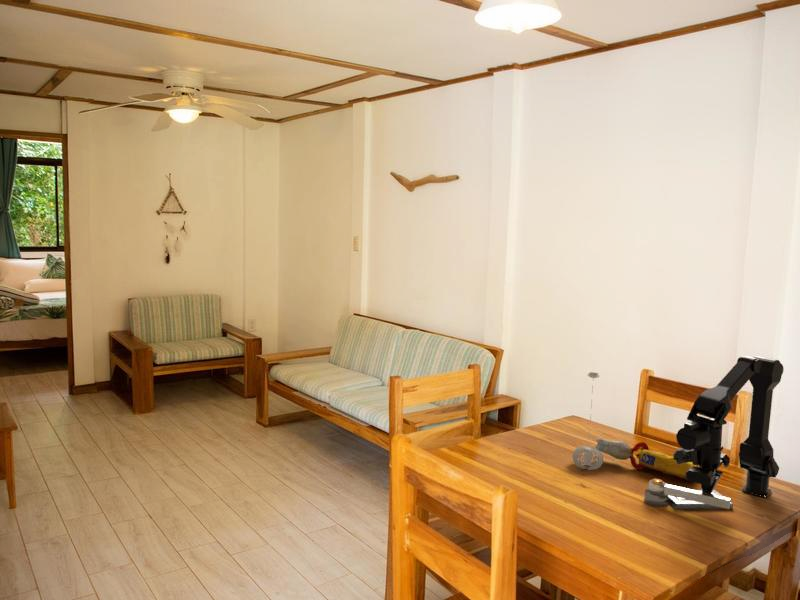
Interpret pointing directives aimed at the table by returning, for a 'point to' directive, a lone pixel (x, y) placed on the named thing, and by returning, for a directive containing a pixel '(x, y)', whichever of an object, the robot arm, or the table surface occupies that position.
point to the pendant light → (588, 449)
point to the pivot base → (656, 499)
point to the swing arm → (687, 494)
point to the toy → (644, 457)
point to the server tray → (693, 503)
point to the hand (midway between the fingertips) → (706, 497)
